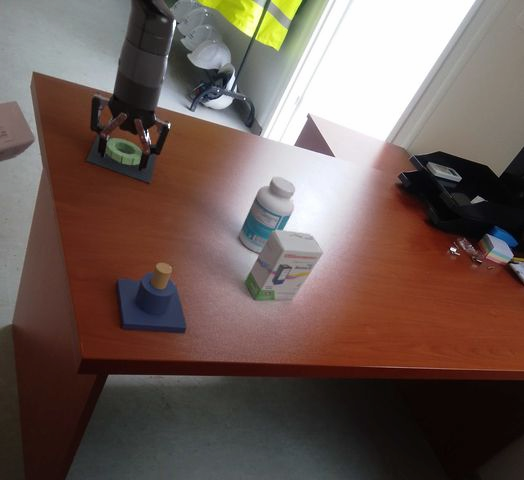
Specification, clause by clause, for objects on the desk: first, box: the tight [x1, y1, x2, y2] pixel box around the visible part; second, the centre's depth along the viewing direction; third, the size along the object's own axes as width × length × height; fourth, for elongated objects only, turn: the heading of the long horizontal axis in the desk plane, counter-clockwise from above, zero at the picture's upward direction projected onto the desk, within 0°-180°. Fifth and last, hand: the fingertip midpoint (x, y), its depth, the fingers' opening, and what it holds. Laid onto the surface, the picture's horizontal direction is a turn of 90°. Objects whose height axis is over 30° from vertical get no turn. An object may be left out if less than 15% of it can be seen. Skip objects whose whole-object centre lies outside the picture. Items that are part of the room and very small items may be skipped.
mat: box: [85, 133, 157, 185], centre depth 91 cm, size 12×12×1 cm
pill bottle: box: [239, 176, 296, 254], centre depth 87 cm, size 8×7×14 cm
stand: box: [116, 262, 187, 334], centre depth 65 cm, size 9×9×8 cm
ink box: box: [244, 229, 324, 301], centre depth 78 cm, size 9×5×12 cm, turn 118°
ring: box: [105, 137, 142, 165], centre depth 87 cm, size 7×7×1 cm
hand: (121, 161), depth 88 cm, fingers closed on ring, 6 cm apart
